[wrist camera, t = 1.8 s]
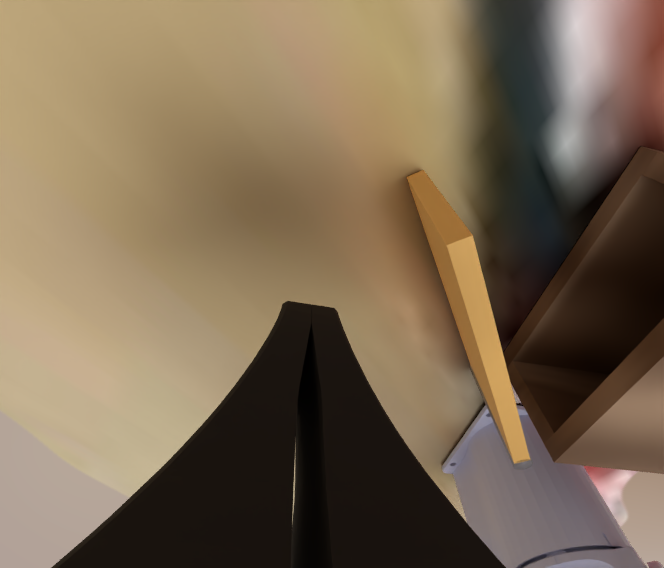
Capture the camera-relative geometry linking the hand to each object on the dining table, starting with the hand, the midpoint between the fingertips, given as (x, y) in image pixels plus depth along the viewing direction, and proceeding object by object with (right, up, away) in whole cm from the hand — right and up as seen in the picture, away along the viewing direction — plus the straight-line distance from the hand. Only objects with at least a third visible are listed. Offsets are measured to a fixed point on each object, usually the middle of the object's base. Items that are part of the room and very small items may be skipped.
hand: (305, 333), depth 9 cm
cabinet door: (+8, +1, +11) cm, 13 cm away
